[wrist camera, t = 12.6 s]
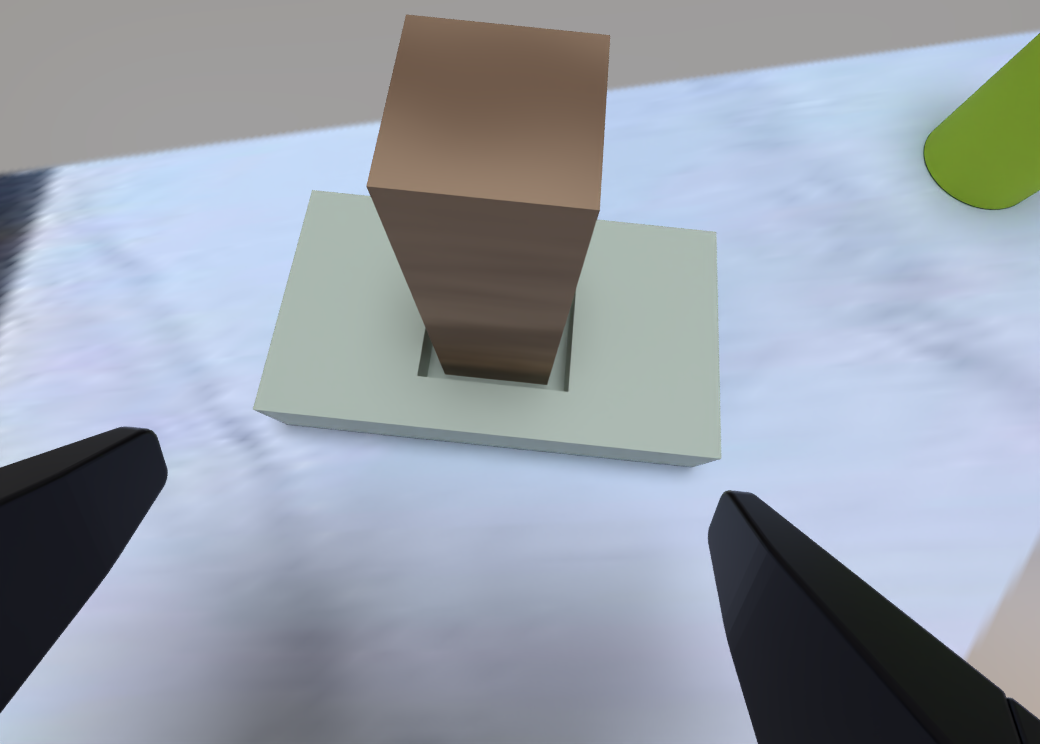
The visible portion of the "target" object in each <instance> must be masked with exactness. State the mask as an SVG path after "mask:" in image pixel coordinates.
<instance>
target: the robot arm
mask: <svg viewBox="0 0 1040 744" xmlns="http://www.w3.org/2000/svg"><path fill="white" fill-rule="evenodd" d="M167 475H168V470H167V466H166V463H165V460H164V457H163V453H162V450H161V447H160V444H159V441H158V438H157V435H156V434H155V433H154V432H153V431H152V430H149V429H146V428H137V427H119V428H116V429H113V430H110V431H107V432H104V433H101V434H98V435H95V436H92V437H89V438H86V439H83V440H80V441H77V442H75V443H72V444H69V445H66V446H63V447H60V448H57V449H54V450H51V451H48V452H45V453H42V454H39V455H36V456H33V457H30V458H27V459H24V460H21V461H18V462H16V463H13V464H10V465H7V466H4V467H1V468H0V713H1V712H2V710H3V709H4V708H5V707H6V705H7V704H8V703H9V701H10V700H11V699H12V698H13V696H14V695H15V694H16V692H17V691H18V690H19V688H20V687H21V686H22V685H23V683H24V682H25V681H26V679H27V678H28V677H29V676H30V674H31V673H32V672H33V670H34V669H35V668H36V666H37V665H38V664H39V663H40V661H41V660H42V659H43V657H44V656H45V655H46V654H47V652H48V651H49V650H50V648H51V647H52V646H53V644H54V643H55V642H56V641H57V639H58V638H59V637H60V635H61V634H62V633H63V632H64V630H65V629H66V628H67V626H68V625H69V624H70V623H71V621H72V620H73V619H74V617H75V616H76V615H77V613H78V612H79V611H80V610H81V608H82V607H83V606H84V604H85V603H86V602H87V601H88V599H89V598H90V597H91V595H92V594H93V593H94V591H95V590H96V589H97V588H98V586H99V585H100V583H101V582H102V581H103V579H104V578H105V577H106V575H107V574H108V573H109V571H110V570H111V568H112V567H113V565H114V564H115V562H116V561H117V559H118V558H119V556H120V555H121V553H122V551H123V550H124V548H125V547H126V545H127V544H128V542H129V540H130V539H131V537H132V536H133V534H134V533H135V531H136V529H137V528H138V526H139V525H140V523H141V522H142V520H143V518H144V517H145V515H146V514H147V512H148V511H149V509H150V507H151V506H152V504H153V503H154V501H155V500H156V498H157V496H158V495H159V493H160V492H161V490H162V489H163V487H164V485H165V483H166V480H167ZM708 544H709V549H710V554H711V560H712V565H713V570H714V576H715V581H716V586H717V592H718V597H719V602H720V608H721V613H722V618H723V623H724V628H725V633H726V637H727V641H728V645H729V648H730V652H731V656H732V659H733V662H734V666H735V669H736V672H737V676H738V679H739V682H740V686H741V689H742V692H743V696H744V699H745V702H746V706H747V709H748V712H749V716H750V719H751V722H752V726H753V729H754V732H755V736H756V739H757V742H758V744H1040V720H1039V719H1038V718H1037V717H1036V716H1034V715H1033V714H1032V713H1030V712H1029V711H1028V710H1027V709H1026V708H1024V707H1023V706H1022V705H1021V704H1019V703H1018V702H1017V701H1015V700H1014V699H1013V698H1006V696H1005V693H1004V692H1003V691H1002V690H1001V689H1000V688H999V687H997V686H996V685H995V684H994V683H992V682H991V681H990V680H988V679H987V678H986V677H985V676H984V675H982V674H981V673H980V672H979V671H977V670H976V669H975V668H973V667H972V666H971V665H970V664H968V663H967V662H966V661H965V660H963V659H962V658H961V657H960V656H958V655H957V654H956V653H954V652H953V651H952V650H951V649H949V648H948V647H947V646H946V645H944V644H943V643H942V642H941V641H939V640H938V639H937V638H936V637H934V636H933V635H932V634H930V633H929V632H928V631H927V630H925V629H924V628H923V627H922V626H920V625H919V624H918V623H917V622H915V621H914V620H913V619H911V618H910V617H909V616H908V615H906V614H905V613H904V612H903V611H901V610H900V609H899V608H898V607H896V606H895V605H894V604H892V603H891V602H890V601H889V600H887V599H886V598H885V597H884V596H882V595H881V594H880V593H879V592H877V591H876V590H875V589H874V588H872V587H871V586H870V585H868V584H867V583H866V582H865V581H863V580H862V579H861V578H860V577H858V576H857V575H856V574H855V573H853V572H852V571H851V570H849V569H848V568H847V567H846V566H844V565H843V564H842V563H841V562H839V561H838V560H837V559H836V558H834V557H833V556H832V555H830V554H829V553H828V552H827V551H825V550H824V549H823V548H822V547H820V546H819V545H818V544H817V543H815V542H814V541H813V540H812V539H810V538H809V537H808V536H806V535H805V534H804V533H803V532H801V531H800V530H799V529H798V528H796V527H795V526H794V525H793V524H791V523H790V522H789V521H787V520H786V519H785V518H784V517H782V516H781V515H780V514H779V513H777V512H776V511H775V510H774V509H772V508H771V507H770V506H768V505H767V504H766V503H765V502H763V501H762V500H761V499H760V498H758V497H757V496H756V495H754V494H752V493H749V492H741V491H732V490H728V491H725V492H724V493H723V494H722V496H721V498H720V500H719V503H718V505H717V508H716V511H715V513H714V516H713V519H712V521H711V524H710V527H709V531H708Z"/></svg>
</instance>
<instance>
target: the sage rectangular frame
mask: <svg viewBox="0 0 1040 744" xmlns="http://www.w3.org/2000/svg"><path fill="white" fill-rule="evenodd" d="M253 410H255V411H257V412H260V413H262V414H264V415H266V416H269V417H271V418H273V419H276V420H278V421H280V422H282V423H285V424H288V425H297V426H307V427H316V428H326V429H335V430H345V431H354V432H364V433H373V434H383V435H392V436H402V437H411V438H421V439H430V440H440V441H449V442H459V443H468V444H478V445H487V446H497V447H506V448H516V449H525V450H535V451H544V452H554V453H563V454H573V455H582V456H592V457H601V458H610V459H620V460H629V461H639V462H648V463H658V464H667V465H677V466H686V467H694V466H698V465H701V464H705V463H708V462H712V461H715V460H719V459H721V426H720V380H719V334H718V289H717V243H716V232H712V231H702V230H692V229H683V228H673V227H663V226H654V225H644V224H634V223H625V222H615V221H605V220H597V221H596V224H595V227H594V231H593V234H592V237H591V241H590V244H589V247H588V251H587V254H586V257H585V261H584V264H583V267H582V271H581V274H580V277H579V281H578V284H577V287H576V291H575V294H574V297H573V301H572V304H571V307H570V311H569V314H568V317H567V321H566V324H565V327H564V331H563V334H562V337H561V341H560V344H559V347H558V350H557V354H556V357H555V360H554V364H553V367H552V370H551V374H550V377H549V380H548V384H547V385H542V384H532V383H523V382H513V381H504V380H494V379H484V378H475V377H465V376H455V375H446V374H445V373H444V371H443V368H442V366H441V364H440V361H439V359H438V356H437V354H436V352H435V349H434V347H433V344H432V342H431V340H430V337H429V335H428V332H427V330H426V328H425V325H424V323H423V320H422V318H421V316H420V313H419V311H418V309H417V306H416V304H415V301H414V299H413V297H412V294H411V292H410V289H409V287H408V285H407V282H406V280H405V277H404V275H403V273H402V270H401V268H400V265H399V263H398V261H397V258H396V256H395V253H394V251H393V249H392V246H391V244H390V241H389V239H388V237H387V234H386V232H385V230H384V227H383V225H382V222H381V220H380V218H379V215H378V213H377V210H376V208H375V206H374V203H373V201H372V198H371V196H364V195H354V194H344V193H335V192H325V191H315V190H312V193H311V196H310V200H309V204H308V207H307V211H306V215H305V218H304V222H303V226H302V229H301V233H300V237H299V241H298V244H297V248H296V252H295V255H294V259H293V263H292V266H291V270H290V274H289V278H288V281H287V285H286V289H285V292H284V296H283V300H282V303H281V307H280V311H279V314H278V318H277V322H276V326H275V329H274V333H273V337H272V340H271V344H270V348H269V351H268V355H267V359H266V363H265V366H264V370H263V374H262V377H261V381H260V385H259V388H258V392H257V396H256V399H255V403H254V407H253Z"/></svg>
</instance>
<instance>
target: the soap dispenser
mask: <svg viewBox="0 0 1040 744" xmlns="http://www.w3.org/2000/svg"><path fill="white" fill-rule="evenodd" d="M924 157H925V162H926V165H927V168H928V170H929V172H930V173H931V175H932V177H933V178H934V179H935V181H936V182H937V183H938V184H939V185H940V186H941V187H942V188H943V189H944V190H945V191H946V192H947V193H949V194H950V195H952V196H953V197H955V198H956V199H958V200H960V201H962V202H964V203H966V204H969V205H972V206H975V207H979V208H984V209H1003V208H1008V207H1011V206H1014V205H1016V204H1018V203H1020V202H1021V201H1023V200H1024V199H1026V198H1028V197H1029V196H1031V195H1032V194H1034V193H1036V192H1037V191H1039V190H1040V33H1039V34H1038V35H1037V36H1036V37H1035V38H1034V39H1033V40H1032V41H1031V42H1029V43H1028V44H1027V45H1026V46H1025V47H1024V48H1023V49H1022V50H1021V51H1020V52H1019V53H1017V54H1016V55H1015V56H1014V57H1013V58H1012V59H1011V60H1010V61H1009V62H1008V63H1006V64H1005V65H1004V66H1003V67H1002V68H1001V69H1000V70H999V71H998V72H997V73H996V74H994V75H993V76H992V77H991V78H990V79H989V80H988V81H987V82H986V83H985V84H984V85H982V86H981V87H980V88H979V89H978V90H977V91H976V92H975V93H974V94H973V95H971V96H970V97H969V98H968V99H967V100H966V101H965V102H964V103H963V104H962V105H961V106H959V107H958V108H957V109H956V110H955V111H954V112H953V113H952V114H951V115H950V116H949V117H947V118H946V119H945V120H944V121H943V122H942V123H941V124H940V125H939V126H938V127H937V128H935V129H934V130H933V131H932V132H931V134H930V135H929V136H928V138H927V140H926V143H925V147H924Z"/></svg>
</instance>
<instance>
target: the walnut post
mask: <svg viewBox="0 0 1040 744" xmlns="http://www.w3.org/2000/svg"><path fill="white" fill-rule="evenodd" d="M609 47H610V35H602V34H593V33H583V32H573V31H563V30H553V29H542V28H533V27H522V26H514V25H504V24H494V23H484V22H474V21H464V20H454V19H445V18H435V17H425V16H415V15H406V17H405V22H404V26H403V30H402V34H401V39H400V43H399V48H398V52H397V57H396V61H395V65H394V69H393V73H392V78H391V82H390V86H389V91H388V95H387V99H386V104H385V108H384V112H383V117H382V121H381V125H380V130H379V134H378V138H377V143H376V147H375V151H374V156H373V160H372V164H371V169H370V173H369V177H368V182H367V189H368V191H369V194H370V196H371V198H372V201H373V203H374V206H375V208H376V210H377V213H378V215H379V218H380V220H381V222H382V225H383V227H384V230H385V232H386V234H387V237H388V239H389V241H390V244H391V246H392V249H393V251H394V253H395V256H396V258H397V261H398V263H399V265H400V268H401V270H402V273H403V275H404V277H405V280H406V282H407V285H408V287H409V289H410V292H411V294H412V297H413V299H414V301H415V304H416V306H417V309H418V311H419V313H420V316H421V318H422V320H423V323H424V325H425V328H426V330H427V332H428V335H429V337H430V340H431V342H432V344H433V347H434V349H435V352H436V354H437V356H438V359H439V361H440V364H441V366H442V368H443V371H444V373H445V374H446V375H455V376H465V377H475V378H484V379H494V380H504V381H513V382H523V383H532V384H542V385H547V384H548V380H549V377H550V374H551V370H552V367H553V364H554V360H555V357H556V354H557V350H558V347H559V344H560V341H561V337H562V334H563V331H564V327H565V324H566V321H567V317H568V314H569V311H570V307H571V304H572V301H573V297H574V294H575V291H576V287H577V284H578V281H579V277H580V274H581V271H582V267H583V264H584V261H585V257H586V254H587V251H588V247H589V244H590V241H591V237H592V234H593V231H594V227H595V224H596V221H597V217H598V214H599V211H600V196H601V180H602V163H603V146H604V130H605V113H606V96H607V78H608V63H609Z"/></svg>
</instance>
